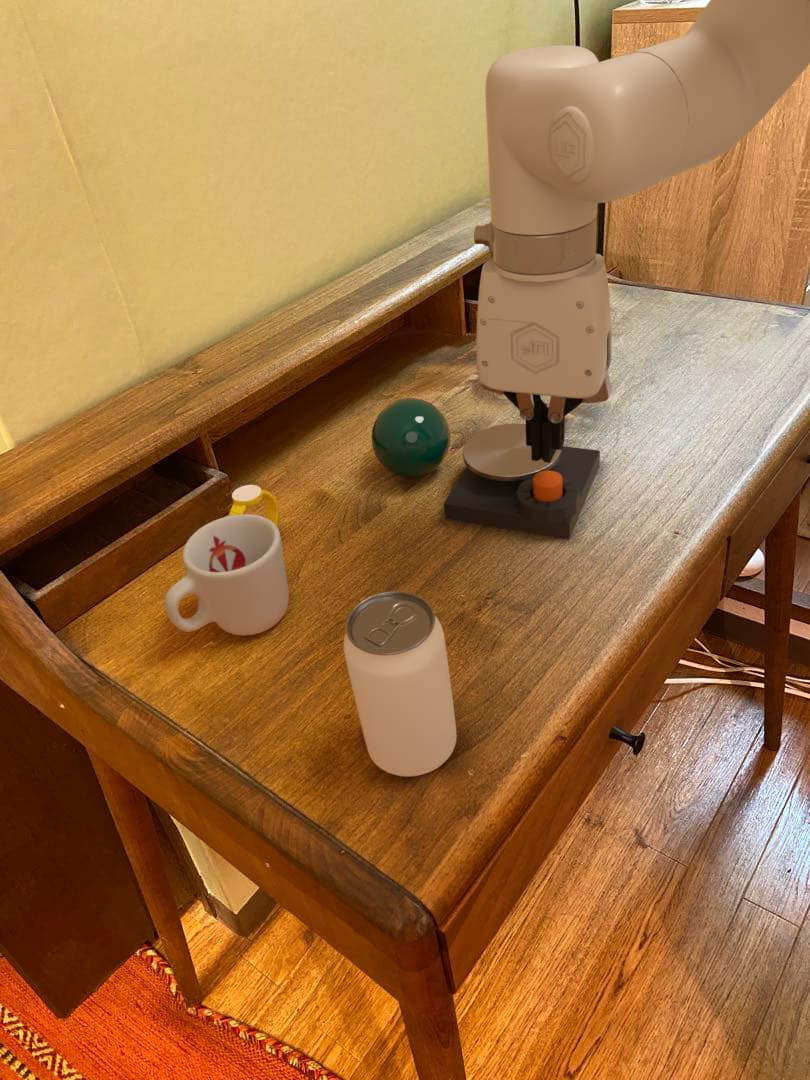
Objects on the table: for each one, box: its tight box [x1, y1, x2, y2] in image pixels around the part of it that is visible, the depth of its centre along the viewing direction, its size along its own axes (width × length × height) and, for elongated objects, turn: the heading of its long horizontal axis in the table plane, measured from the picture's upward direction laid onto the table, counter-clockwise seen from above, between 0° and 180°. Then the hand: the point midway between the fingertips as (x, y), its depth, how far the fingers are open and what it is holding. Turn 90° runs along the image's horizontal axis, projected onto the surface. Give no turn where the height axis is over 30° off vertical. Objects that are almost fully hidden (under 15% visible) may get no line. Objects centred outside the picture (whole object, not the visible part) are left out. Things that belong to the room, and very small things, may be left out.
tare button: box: [533, 471, 563, 502], centre depth 74 cm, size 3×3×2 cm
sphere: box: [371, 397, 451, 479], centre depth 83 cm, size 8×8×8 cm
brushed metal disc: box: [462, 422, 561, 481], centre depth 79 cm, size 9×9×1 cm
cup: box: [164, 513, 290, 636], centre depth 68 cm, size 11×8×8 cm
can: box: [343, 590, 458, 777], centre depth 55 cm, size 6×6×12 cm
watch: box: [228, 484, 280, 527], centre depth 77 cm, size 6×3×6 cm, turn 151°
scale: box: [443, 445, 601, 540], centre depth 79 cm, size 12×13×4 cm
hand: (545, 452), depth 72 cm, fingers closed
